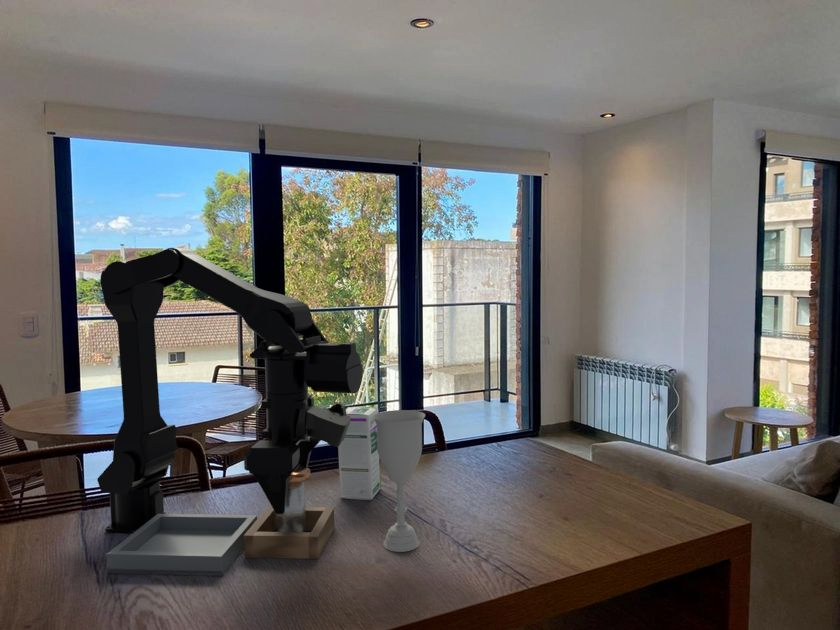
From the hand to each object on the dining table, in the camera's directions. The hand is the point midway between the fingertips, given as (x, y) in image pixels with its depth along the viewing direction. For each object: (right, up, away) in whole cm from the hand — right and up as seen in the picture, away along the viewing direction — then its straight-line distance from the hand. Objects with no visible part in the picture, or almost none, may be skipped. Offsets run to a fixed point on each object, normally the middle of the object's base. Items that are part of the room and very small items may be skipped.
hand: (290, 500), depth 85 cm
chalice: (+16, -6, -1) cm, 17 cm away
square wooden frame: (0, -6, 0) cm, 6 cm away
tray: (-14, -6, -2) cm, 15 cm away
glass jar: (0, -6, 0) cm, 6 cm away
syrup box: (+8, -5, +19) cm, 21 cm away
